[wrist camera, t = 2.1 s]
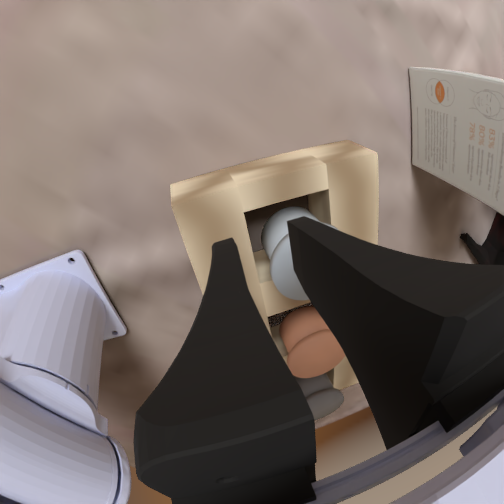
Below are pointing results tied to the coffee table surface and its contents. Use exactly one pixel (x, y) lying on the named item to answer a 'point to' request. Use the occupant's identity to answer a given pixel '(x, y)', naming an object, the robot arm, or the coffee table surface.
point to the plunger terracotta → (309, 343)
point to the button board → (270, 192)
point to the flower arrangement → (489, 244)
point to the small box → (460, 130)
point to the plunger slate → (284, 251)
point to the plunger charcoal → (320, 395)
